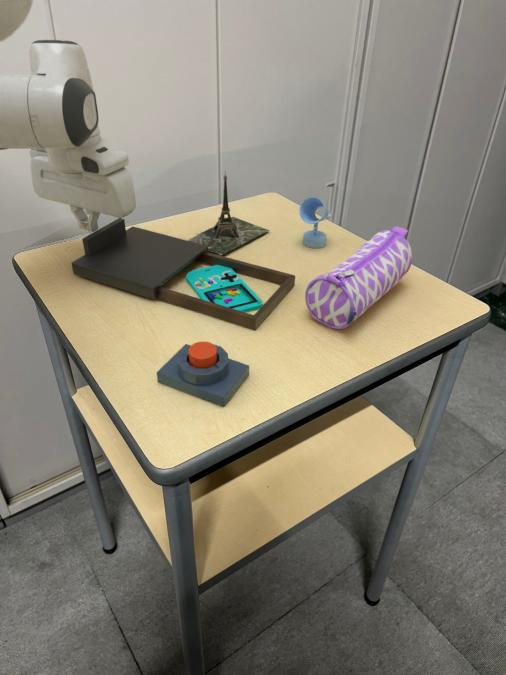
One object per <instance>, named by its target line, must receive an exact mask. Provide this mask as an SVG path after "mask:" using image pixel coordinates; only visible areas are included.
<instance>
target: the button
mask: <svg viewBox="0 0 506 675" xmlns="http://www.w3.org/2000/svg"><path fill="white" fill-rule="evenodd" d="M190 345H191V346H190V348H189V350H188V351H189V363H190V365H191V366H192V367H195V368H198V369H206V368H210V367H212V366H214V365H215V364H216V362H217V348H216V346H215V345H216V344H214V343H212V342H211V341H210V342H209V341H198V342H197V341H196V342H194V343H192V344H190Z"/></svg>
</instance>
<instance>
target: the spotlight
mask: <svg viewBox="0 0 506 675" xmlns="http://www.w3.org/2000/svg"><path fill="white" fill-rule="evenodd" d="M321 207H322V208H323V211H322V212H323V213H322V215H321V216H320V218H318V217H317V215H316V211H317V209H318V208H321ZM298 212H299V216H300V219H301V220H302V221H303V222H304V223H305V224H308V225H313V229H310V230H306V231H304V232H303V236H302V244H303V245H304V246H305V247H308V248H310V249H311V248H312V249H320V248H323V247H325V246H326V243H327V234H326V233H325V232H324V231H321V230H318V228H319V223H320V222H323V221H325V220H327V218H328V217H329V214H330V212H329V208H328V207H327V206H326V204H325V203H324V202H323V200H322V199H321V198H319V197H317V196H308V197H306V198H304V199H303V201H302V202H301V203H300V205H299V210H298Z"/></svg>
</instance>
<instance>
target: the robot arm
mask: <svg viewBox="0 0 506 675" xmlns="http://www.w3.org/2000/svg"><path fill="white" fill-rule="evenodd" d="M33 3H34V0H0V44H1V43H3V42H5V41H7V40H8V39H9V38H11V37H13V35H14V34H16V33H17V31H19V30H20V28H21V27H22V26H23V25H24V23H25V22H26V20H27V18H28V16H29V15H30V13H31V9H32V6H33ZM28 47H29V48H28V49H29V50H28V54H29V66H30V74H0V151H2V150H4V151H5V150H8V149H11V150H12V149H13V150H16V149H18V150H20V149H22V150H24V149H25V150H26V149H27V150H28V149H29V155H30V176H31V181H32V187H33V191H34V193H35V194H36V196H37V197H38V198H40V199H44V200H48V201H51V202H56V203H60V204H64V205H67V206H69V209H70V212H71V213H72V214H73V216H74V218H75V219H76V220H77V223H78V227H79V229H81V230H85V231H88V232H92V233H93V232H95V231H97V230H99V223H98V220H99V218H100V215H101V214H103V215H107V216H111V217H115V218H117V219H118V218H121V219H124V218H126V217H127V216H129V215H130V214H132V213H133V212H134V211H135V209H136V207H137V201H136V193H135V187H134V182H133V177H132V175H131V173H130V171H129V170H128V168H126V167H127V166H128V165H129V163H130V158H129V154H128V153H127V152H126V151H124V150H122V149H121V148H119V147H117V146H115V145H114V144H112V142H109V141H108V140H107V139H106V138H104V137H102V136H101V130H100V127H99V118H100V117H99V110H98V103H97V96H96V92H95V91H94V86H93V81H92V76H91V72H90V68H89V65H88V61H87V57H86V55H85V52H84V49H83V46H82V45H81V44H79V43H77V42H75V41H71V40H61V39H37V40H34V41H33V42H31V43H30V44H29V46H28ZM88 215H89V216H88Z"/></svg>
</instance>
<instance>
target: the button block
mask: <svg viewBox="0 0 506 675" xmlns="http://www.w3.org/2000/svg"><path fill="white" fill-rule="evenodd" d="M191 345H192V344H189V343H185V344H184V345H182V347H181V348H180V349H179V350H178V351H177V352H176V353H175V354H174V355H173V356H171V358H170V359H169V360H168V361H166V362H165V363H164V365H162V367H160V369H158V370H157V371H156V378H157V380H156V381H157V383H159V384H162V385H165V386H167V387H170V388H173V389H175V390H178V391H181V392H183V393H186V394H188V395H191V396H194V397H197V398H199V399H201V400H204V401H207V402H209V403H212V404H215V405H217V406H219V407H222V408H224V407H225V406H226V405H227V404H228V402H229V401H230V400H231V399H232V397H233V396H234V395H235V394H236V393H237V391H238V390H239V389H240V387H241V386H242V385H243V384H244V382H245V381H246V380H247V378H249V376H250V365H249V364H246V363H243V362H240V361H237V360H234V359H231V358H229V353H228V352H227V351H226V350H225V349H224V348H223V347H222V346H221V345H217V344H214V345H215V346H216V348H217V362H216V364H215V365H214V366H212V367H210V368H206V369H198V368H195V367H192V366H191V365H190V363H189V351H188V350H189V348H190V346H191Z"/></svg>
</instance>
